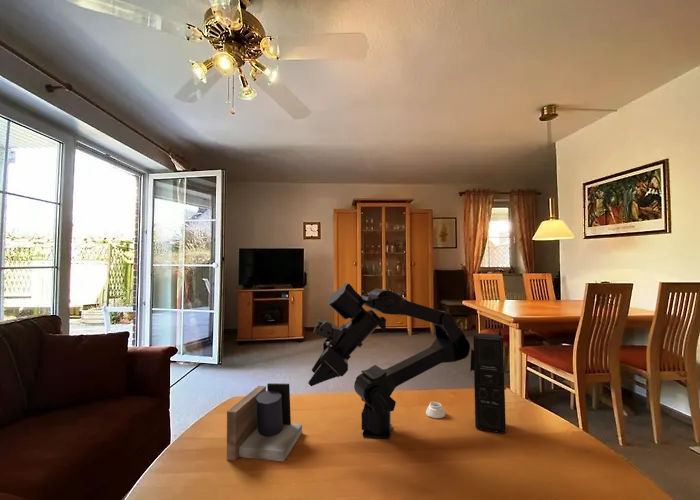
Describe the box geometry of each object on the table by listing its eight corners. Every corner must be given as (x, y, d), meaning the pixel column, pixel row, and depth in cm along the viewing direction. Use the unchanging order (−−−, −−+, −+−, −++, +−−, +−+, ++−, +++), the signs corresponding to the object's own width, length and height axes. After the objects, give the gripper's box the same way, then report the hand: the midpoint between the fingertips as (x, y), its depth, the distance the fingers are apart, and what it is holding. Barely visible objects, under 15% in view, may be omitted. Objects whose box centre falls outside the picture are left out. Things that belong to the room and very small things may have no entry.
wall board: (303, 429, 83) (303, 388, 84) (280, 465, 69) (280, 415, 69) (258, 425, 85) (258, 385, 86) (226, 459, 71) (226, 411, 71)
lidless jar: (433, 421, 88) (449, 417, 90) (433, 409, 88) (448, 406, 90) (422, 413, 92) (437, 410, 94) (422, 402, 92) (437, 399, 94)
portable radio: (470, 429, 83) (468, 326, 84) (471, 418, 88) (469, 322, 89) (506, 435, 80) (503, 328, 81) (504, 423, 86) (502, 324, 86)
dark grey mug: (271, 418, 84) (271, 378, 84) (291, 424, 82) (290, 382, 81) (251, 436, 77) (250, 392, 77) (272, 442, 75) (271, 397, 74)
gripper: (333, 302, 91) (292, 344, 91) (332, 313, 73) (280, 366, 72) (363, 331, 91) (322, 373, 90) (369, 349, 73) (317, 402, 72)
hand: (311, 377), depth 81 cm, fingers open, 9 cm apart
